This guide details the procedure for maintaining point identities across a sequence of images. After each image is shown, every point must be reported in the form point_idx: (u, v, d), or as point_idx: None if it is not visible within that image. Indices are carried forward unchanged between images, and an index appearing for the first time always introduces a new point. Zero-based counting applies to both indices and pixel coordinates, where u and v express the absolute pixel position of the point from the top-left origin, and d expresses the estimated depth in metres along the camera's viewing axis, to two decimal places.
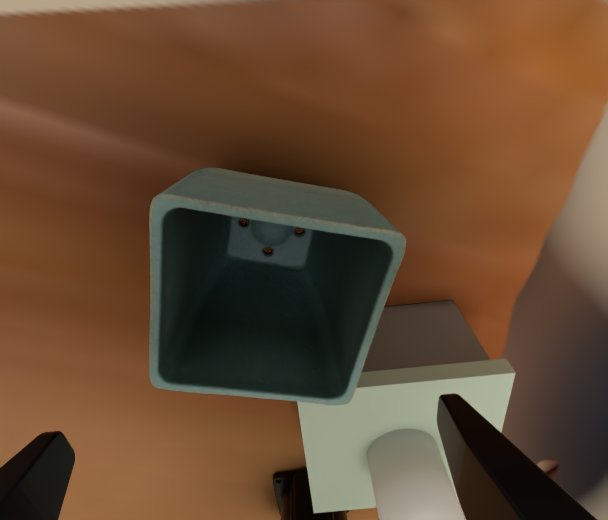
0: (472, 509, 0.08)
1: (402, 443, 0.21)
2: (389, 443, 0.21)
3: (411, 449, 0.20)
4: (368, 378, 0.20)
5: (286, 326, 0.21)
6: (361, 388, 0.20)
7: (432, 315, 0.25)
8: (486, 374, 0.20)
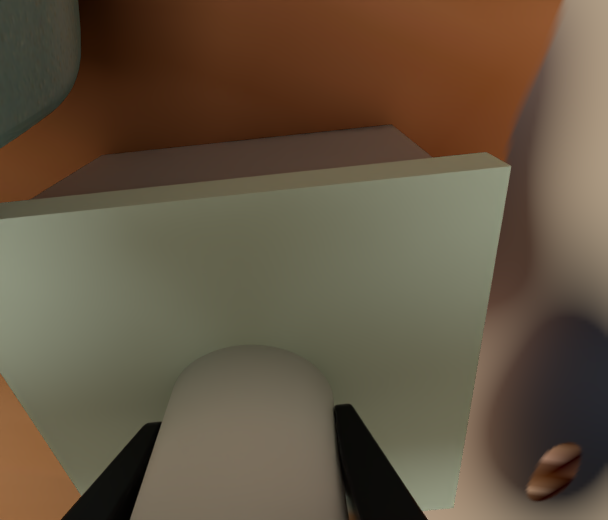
0: None
1: (223, 375, 0.08)
2: (197, 376, 0.08)
3: (238, 387, 0.08)
4: (120, 197, 0.08)
5: None
6: (86, 214, 0.07)
7: (344, 138, 0.12)
8: (430, 173, 0.07)
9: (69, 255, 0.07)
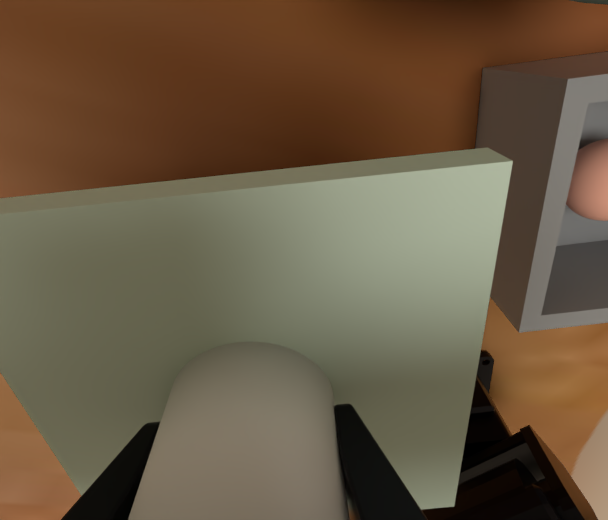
0: None
1: (223, 371, 0.08)
2: (196, 373, 0.08)
3: (238, 384, 0.08)
4: (119, 192, 0.07)
5: None
6: (84, 209, 0.07)
7: None
8: (431, 168, 0.07)
9: (68, 251, 0.07)
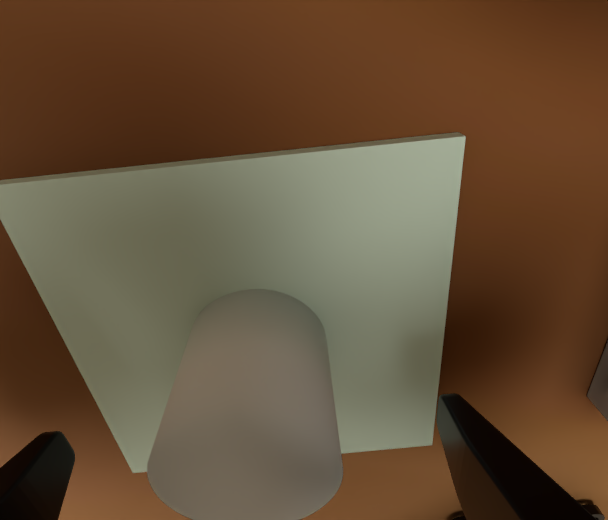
0: (472, 509, 0.08)
1: (235, 309, 0.10)
2: (213, 312, 0.10)
3: (248, 317, 0.10)
4: None
5: None
6: (127, 174, 0.09)
7: None
8: (402, 142, 0.09)
9: (112, 209, 0.09)
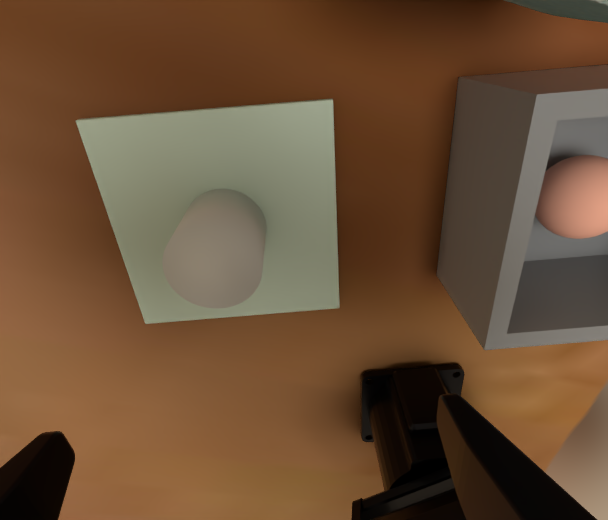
0: (472, 509, 0.08)
1: (210, 196, 0.18)
2: (198, 199, 0.18)
3: (217, 198, 0.17)
4: None
5: None
6: (153, 116, 0.17)
7: None
8: (299, 102, 0.17)
9: (143, 136, 0.17)
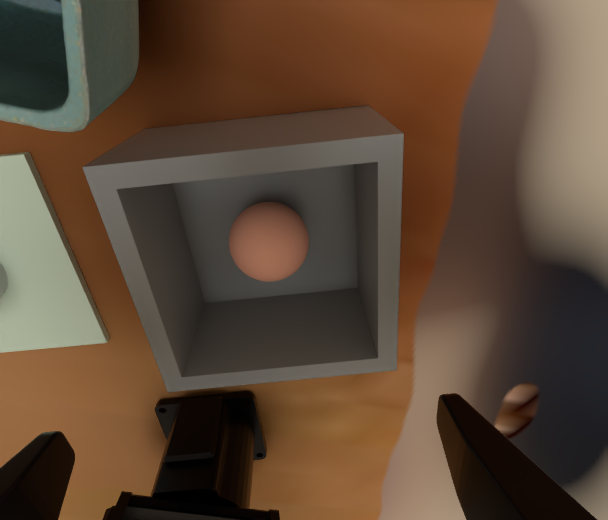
0: (472, 509, 0.08)
1: None
2: None
3: None
4: None
5: (48, 66, 0.12)
6: None
7: (331, 114, 0.16)
8: None
9: None
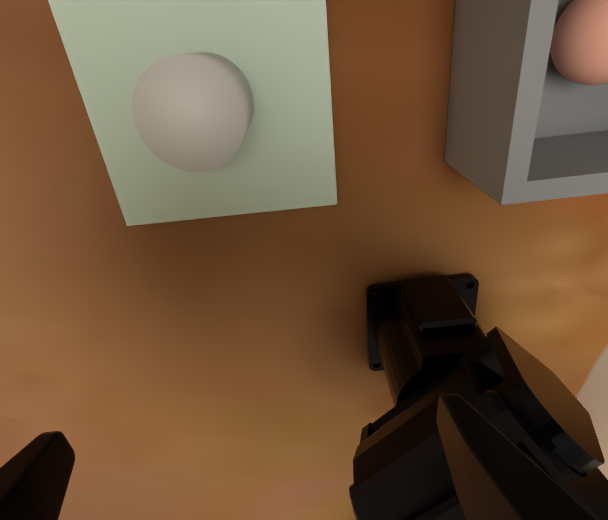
0: (472, 509, 0.08)
1: None
2: None
3: None
4: None
5: None
6: None
7: None
8: None
9: None
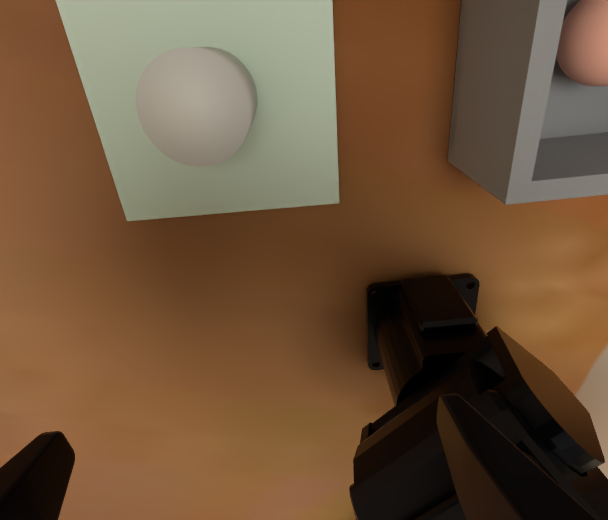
0: (472, 509, 0.08)
1: None
2: None
3: None
4: None
5: None
6: None
7: None
8: None
9: None
